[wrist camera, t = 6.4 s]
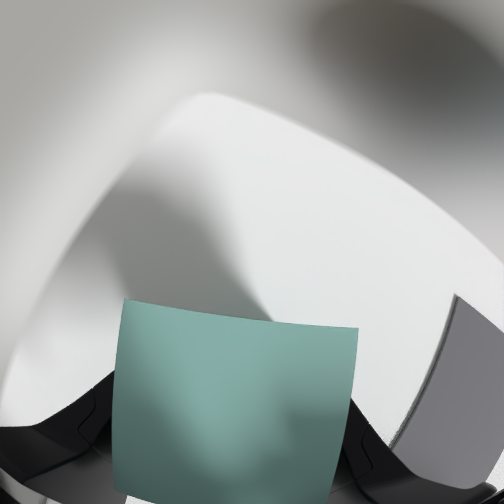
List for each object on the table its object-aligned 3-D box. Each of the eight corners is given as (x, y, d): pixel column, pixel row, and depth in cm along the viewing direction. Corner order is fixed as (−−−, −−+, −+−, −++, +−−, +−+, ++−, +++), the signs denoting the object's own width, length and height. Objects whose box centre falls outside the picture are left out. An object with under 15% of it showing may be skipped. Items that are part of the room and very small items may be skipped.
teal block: (273, 412, 14) (321, 517, 4) (191, 401, 14) (114, 490, 4) (283, 333, 16) (358, 328, 5) (200, 323, 16) (124, 298, 5)
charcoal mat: (464, 508, 10) (466, 508, 9) (350, 502, 12) (352, 504, 12) (533, 363, 15) (535, 362, 14) (456, 297, 17) (459, 296, 17)
